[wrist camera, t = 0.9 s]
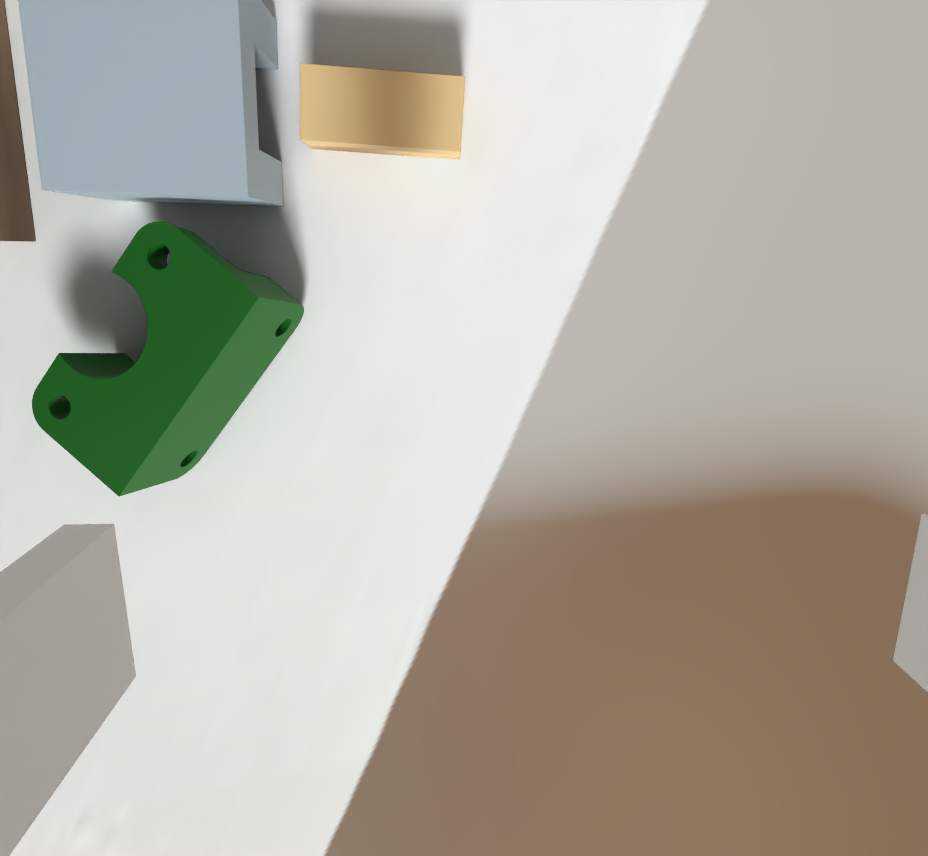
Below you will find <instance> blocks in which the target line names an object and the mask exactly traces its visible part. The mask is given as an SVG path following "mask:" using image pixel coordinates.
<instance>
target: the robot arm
mask: <svg viewBox="0 0 928 856" xmlns="http://www.w3.org/2000/svg"><path fill="white" fill-rule="evenodd" d="M893 661H894V662H895V663H896V664H898V665H899V666H900V667H901V668H902V669H903V670H904V671H905V672H906V673H907V674H908V675H910V676H911V677H912V678H913V679H914V680H915V681H916V682H917V683H919V685H921V686H922V687H923V688H924V689H925V690H926V691H927V692H928V514H922V516H921V521H920V526H919V531H918V536H917V541H916V546H915V552H914V557H913V562H912V567H911V572H910V577H909V582H908V587H907V593H906V598H905V603H904V608H903V613H902V618H901V623H900V628H899V634H898V639H897V644H896V649H895V654H894V659H893ZM135 677H136V673H135V666H134V659H133V652H132V645H131V639H130V632H129V625H128V618H127V611H126V604H125V597H124V590H123V583H122V576H121V569H120V563H119V556H118V549H117V542H116V535H115V528H114V524H84V525H63V526H62V527H61V528H59V529H58V530H57V531H55V532H54V533H53V534H51V535H50V536H49V537H47V538H46V539H44V540H43V541H42V542H40V543H39V544H38V545H36V546H35V547H34V548H32V549H31V550H30V551H28V552H27V553H26V554H24V555H23V556H22V557H20V558H19V559H18V560H16V561H15V562H14V563H12V564H11V565H10V566H8V567H7V568H5V569H4V570H3V571H1V572H0V856H9V855H10V854H11V853H12V851H13V850H14V848H15V847H16V845H17V844H18V843H19V841H20V840H21V838H22V837H23V835H24V834H25V833H26V831H27V830H28V828H29V827H30V826H31V824H32V823H33V821H34V820H35V818H36V817H37V816H38V814H39V813H40V811H41V810H42V809H43V807H44V806H45V804H46V803H47V801H48V800H49V799H50V797H51V796H52V794H53V793H54V791H55V790H56V789H57V787H58V786H59V784H60V783H61V782H62V780H63V779H64V777H65V776H66V774H67V773H68V772H69V770H70V769H71V767H72V766H73V765H74V763H75V762H76V760H77V759H78V757H79V756H80V755H81V753H82V752H83V750H84V749H85V747H86V746H87V745H88V743H89V742H90V740H91V739H92V738H93V736H94V735H95V733H96V732H97V730H98V729H99V728H100V726H101V725H102V723H103V722H104V721H105V719H106V718H107V716H108V715H109V713H110V712H111V711H112V709H113V708H114V706H115V705H116V704H117V702H118V701H119V699H120V698H121V696H122V695H123V694H124V692H125V691H126V689H127V688H128V686H129V685H130V684H131V682H132V681H133V679H134V678H135Z"/></svg>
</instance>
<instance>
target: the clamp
mask: <svg viewBox="0 0 928 856" xmlns="http://www.w3.org/2000/svg"><path fill="white" fill-rule="evenodd" d="M169 252H170V254H171V260H170V263H169V265H168V266H167V256H168V254H169ZM112 272H113V273H115V274H117V275H119V276H121V277H122V278H123V279H125V280H126V281H127V282H128V283H129V284H130V285H131V286H132V287H133V288H134V289H135V290H136V292H137V293H138V295H139V297H140V298H141V300H142V303H143V305H144V308H145V311H146V316H147V324H148V331H147V339H146V343H145V346H144V349H143V351H142V354H141V355H140V357H139V359H138V360H137V361H136V363H134V362H133V360H132V359H130V358H129V356H128V355H127V354H126V353H59V354H58V355H57V357H56V358H55V360H54V362H53V363H52V365H51V366H50V368H49V369H48V371H47V372H46V374H45V375H44V377H43V379H42V380H41V382H40V383H39V385H38V386H37V388H36V390H35V392H34V395H33V399H32V409H33V414H34V417H35V419H36V421H37V423H38V424H39V426H40V427H41V428H42V429H43V430H44V431H45V432H46V433H47V434H48V435H50V436H51V437H52V438H53V439H54V440H55V441H56V442H57V443H59V444H60V445H61V446H62V447H63V448H64V449H65V450H67V451H68V452H69V453H70V454H71V455H72V456H73V457H75V458H76V459H77V460H78V461H79V462H80V463H81V464H83V465H84V466H85V467H86V468H87V469H88V470H89V471H91V472H92V473H93V474H94V475H95V476H96V477H97V478H99V479H100V480H101V481H102V482H103V483H104V484H105V485H107V486H108V487H109V488H110V489H111V490H112V491H113V492H115V493H116V494H117V495H118V496H122V495H125V494H128V493H132V492H135V491H138V490H142V489H145V488H148V487H151V486H155V485H158V484H161V483H164V482H168V481H171V480H174V479H177V478H179V477H181V476H182V475H184V474H185V473H187V472H188V471H189V470H190V469H192V468H193V467H194V466H195V465H196V464H197V463H198V462H199V461H200V459H201V458H202V457H203V456H204V454H205V453H206V452H207V450H208V449H209V447H210V446H211V445H212V443H213V442H214V441H215V439H216V438H217V436H218V435H219V434H220V432H221V431H222V430H223V428H224V427H225V425H226V424H227V423H228V421H229V420H230V418H231V417H232V416H233V414H234V413H235V412H236V410H237V409H238V407H239V406H240V405H241V403H242V402H243V401H244V399H245V398H246V396H247V395H248V394H249V392H250V391H251V390H252V388H253V387H254V385H255V384H256V383H257V381H258V380H259V378H260V377H261V376H262V374H263V373H264V372H265V370H266V369H267V367H268V366H269V365H270V363H271V362H272V361H273V359H274V358H275V356H276V355H277V354H278V352H279V351H280V350H281V348H282V347H283V345H284V344H285V343H286V341H287V340H288V338H289V337H290V336H291V334H292V333H293V332H294V330H295V329H296V327H297V326H298V324H299V323H300V321H301V319H302V316H303V313H304V308H303V306H302V305H301V304H300V303H298V302H297V301H296V300H295V299H294V298H292V297H291V296H290V295H289V294H288V293H286V292H285V291H284V290H283V289H282V288H280V287H279V286H278V285H277V284H276V283H274V282H273V281H272V280H271V279H270V278H268V277H264V276H260V275H256V274H252V273H248V272H244V271H240V270H238V269H237V268H235V267H234V266H233V265H232V264H231V263H229V262H228V261H227V260H226V259H225V258H223V257H222V256H221V255H220V254H219V253H217V252H216V251H215V250H214V249H213V248H211V247H210V246H209V245H208V244H207V243H206V242H204V241H203V240H202V239H201V238H200V237H198V236H197V235H196V234H195V233H193V232H192V231H190V230H187V229H184V228H181V227H178V226H175V225H172V224H169V223H166V222H152V223H149V224H147V225H145V226H144V227H142V228H141V229H140V230H139V231H138V232H137V233H136V235H135V236H134V238H133V239H132V241H131V242H130V244H129V246H128V247H127V249H126V250H125V252H124V253H123V255H122V256H121V258H120V259H119V261H118V263H117V264H116V266H115V267H114V269H113V270H112Z"/></svg>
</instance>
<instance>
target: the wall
mask: <svg viewBox="0 0 928 856" xmlns="http://www.w3.org/2000/svg"><path fill="white" fill-rule="evenodd" d="M0 241H35V233H34V225H33V218H32V210H31V202H30V195H29V187H28V179H27V172H26V164H25V156H24V149H23V141H22V133H21V126H20V118H19V111H18V103H17V95H16V88H15V80H14V72H13V65H12V57H11V49H10V42H9V34H8V26H7V19H6V11H5V3H4V0H0Z"/></svg>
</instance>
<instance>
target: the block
mask: <svg viewBox="0 0 928 856" xmlns="http://www.w3.org/2000/svg"><path fill="white" fill-rule="evenodd" d="M18 1H19V9H20V17H21V25H22V33H23V41H24V49H25V57H26V64H27V72H28V80H29V88H30V96H31V104H32V112H33V120H34V128H35V136H36V144H37V152H38V160H39V168H40V176H41V184H42V190H46V191H53V192H59V193H66V194H73V195H80V196H87V197H94V198H100V199H107V200H114V201H141V202H172V203H203V204H235V205H266V206H283V182H282V162H281V161H279V160H277V159H275V158H274V157H272V156H270V155H268V154H266V153H264V152H262V151H260V150H259V137H258V115H257V94H256V72H255V68H265V69H278V52H277V26H276V19H275V18H274V16H273V15H272V14H271V12H270V11H269V10H268V8H267V7H266V6H265V4H264V3H263V2H262V0H18Z"/></svg>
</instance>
